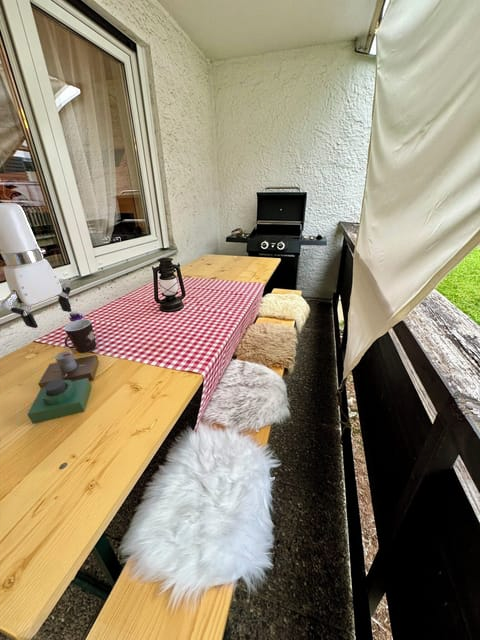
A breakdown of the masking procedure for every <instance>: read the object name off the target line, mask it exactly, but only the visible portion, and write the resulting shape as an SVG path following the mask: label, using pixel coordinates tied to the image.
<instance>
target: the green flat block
mask: <svg viewBox="0 0 480 640" xmlns="http://www.w3.org/2000/svg"><path fill="white" fill-rule="evenodd" d="M64 381H65V383H66V385H67V389H66V390H65V391H64V392H62V393H60V394H58V395H55V396H49V395H48V393H47V392H46V390H45V387H43V388H40V390H39V392H38V394H36V395H37V396H35V397H36V398H35V399H34V401H33V403H32V405H31V407H30V409H29V410H28V412H27V417H28V419H29V420H30V421H31V423H32V424H33V425H35V424H39V423H43V422H47V421H52V420H55V419H60V418H63V417H67V416H73V415H76V414H77V415H78V414H80V413H85V411H86V408H87V404H88V401H89V398H90V395H91V390H92V388H93V387H92V384H91V381H89V379H88V378H86V379H81V380H76V381H70V380H64ZM34 423H35V424H34Z"/></svg>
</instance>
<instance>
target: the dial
mask: <svg viewBox="0 0 480 640" xmlns="http://www.w3.org/2000/svg"><path fill="white" fill-rule="evenodd" d="M54 359H55V361H56V363H58V365H59V367H60V370H61V371H62V372H64V373H66V372H70V371H72V370H74V369H75V368H76V367H77V364H76V361H75V359H76V358H75V357H74V355H73V352H72V351H70V350H65V351H61V352H59V353H58V354H56V355H55V357H54Z"/></svg>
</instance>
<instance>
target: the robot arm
mask: <svg viewBox="0 0 480 640" xmlns="http://www.w3.org/2000/svg"><path fill="white" fill-rule="evenodd" d="M46 253H47V251H46V249H45V248H40V247H39V244H38V242H37V240H36V238H35V235H34V233H33V230H32V228H31V225H30V223H29V221H28V218H27V216H26V214H25V212H24V210H23V208H22V206H21V205H20V204H18V203H16V202H0V255H1V258H2V259H3V261H4V263H5V265H6V266H3V273H4V277H5V281H6V284H7V287H8V289H9V292H10V293H9V295H8V296H6V297H5V299H3V301H2V302H0V307H2V308H4V309H5V310H7V311H9V312H10V313H14V314H18V315H20V316H21V319H22V321H23V322H24V324H25V325H26V326H27V327H29V328H32V329H37V328H38V326H39V325H38V323H37V322H36V319H35V317H34V315H33V314H32V313H30V311H31V308H32V306H35V305H38V304H39V303H42V302H45V301H48V300H50V299H52V298H55V297H57V301H58V303H59V305H60V308H61V310H62V311H63V312H67V313H71V312H73V310H72V308H71V307H72V305H71V303H70V300H69V298H70V293H71V290H72V289H71V287H72V281H71V280H70V279H63V278H58V276H57V274H56V272H55V270H54V269H53V267H52V265H51V264H50V263H49V261H48V260H47V259H46V258H44V254H46ZM61 284H63V287H62V285H61ZM14 302H15V303H16V304H17V305H18V307H15V306H14V305H13V303H14Z"/></svg>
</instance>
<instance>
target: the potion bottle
mask: <svg viewBox="0 0 480 640" xmlns="http://www.w3.org/2000/svg"><path fill="white" fill-rule="evenodd" d="M68 319H69V321H70V322H73V321H76V320H80V319H84V316H83V314H82V312H81V313H80V311H78V310H77V311H76V310H75V311H71V312H69V316H68ZM78 329H81V328H78ZM78 329H76V330H78Z"/></svg>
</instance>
